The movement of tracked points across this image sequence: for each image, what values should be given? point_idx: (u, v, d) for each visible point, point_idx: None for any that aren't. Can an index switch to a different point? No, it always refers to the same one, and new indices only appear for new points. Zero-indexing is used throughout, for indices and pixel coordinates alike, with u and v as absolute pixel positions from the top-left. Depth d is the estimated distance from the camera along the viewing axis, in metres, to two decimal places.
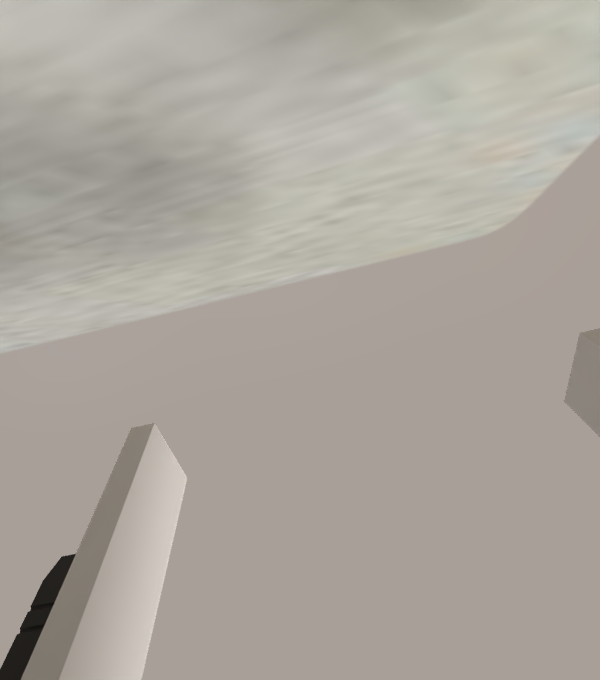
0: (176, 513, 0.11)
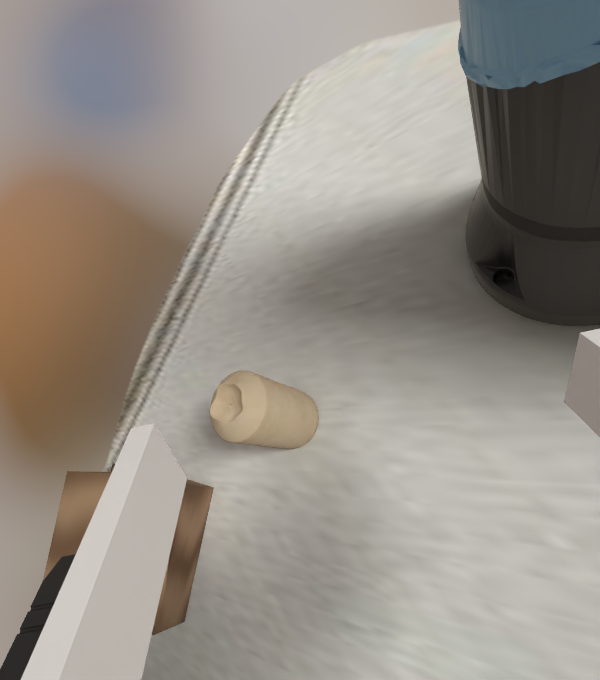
0: (176, 513, 0.11)
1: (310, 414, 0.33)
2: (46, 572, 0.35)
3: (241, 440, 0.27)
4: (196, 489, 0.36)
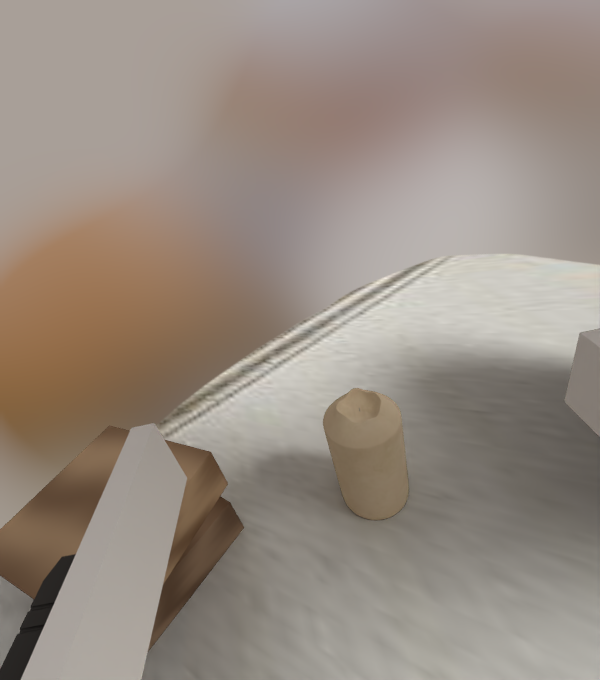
0: (176, 513, 0.11)
1: (407, 484, 0.29)
2: (17, 516, 0.27)
3: (358, 448, 0.24)
4: (234, 512, 0.29)
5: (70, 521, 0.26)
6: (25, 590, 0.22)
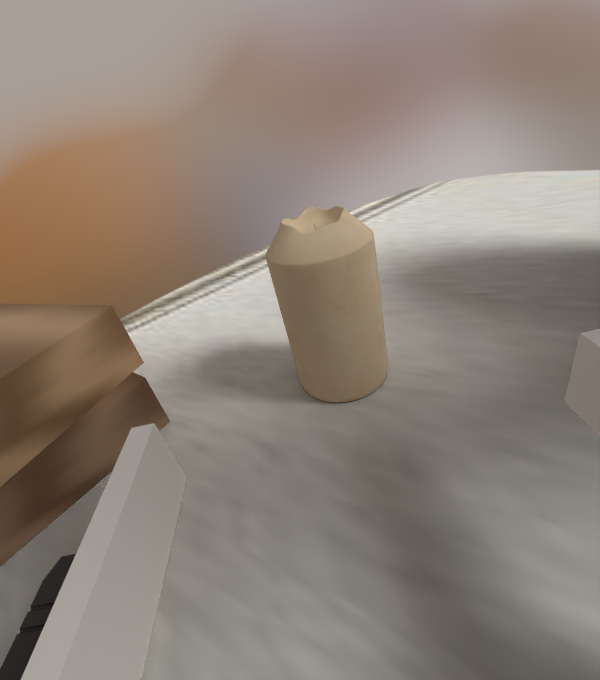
0: (176, 513, 0.11)
1: (384, 354, 0.21)
2: None
3: (308, 263, 0.16)
4: (152, 394, 0.22)
5: None
6: None
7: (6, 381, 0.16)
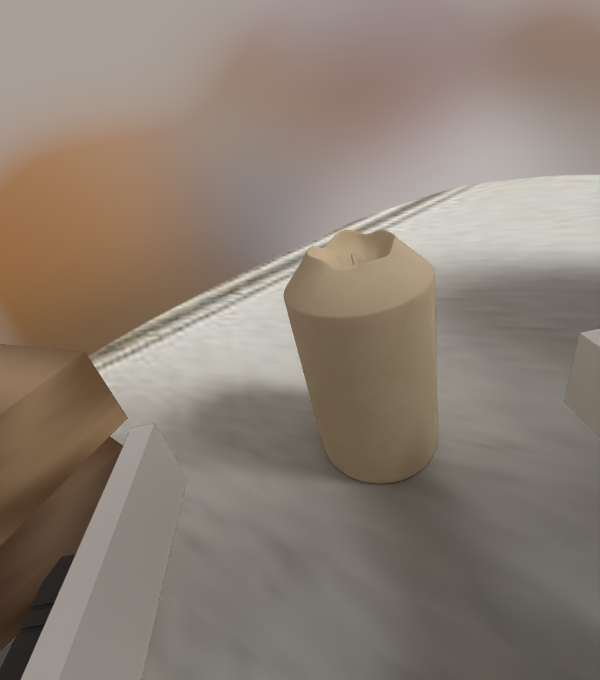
0: (176, 513, 0.11)
1: (436, 421, 0.16)
2: None
3: (347, 316, 0.12)
4: None
5: None
6: None
7: None
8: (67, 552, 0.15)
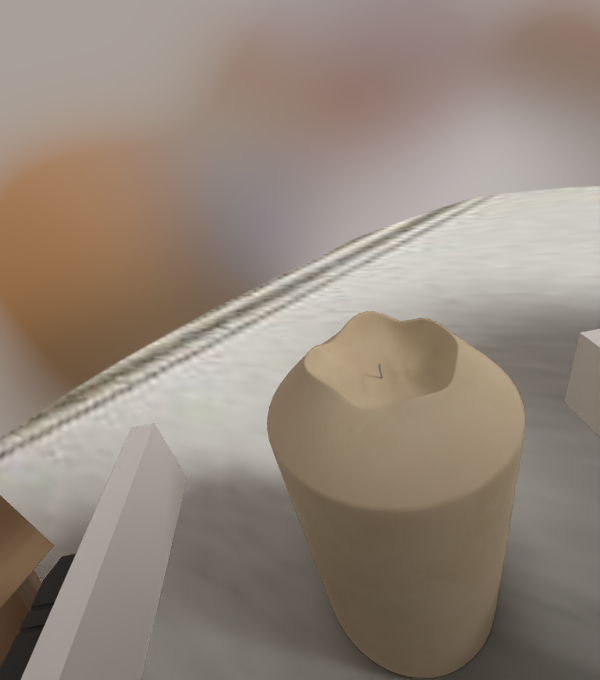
0: (176, 513, 0.11)
1: None
2: None
3: (380, 508, 0.06)
4: None
5: None
6: None
7: None
8: None
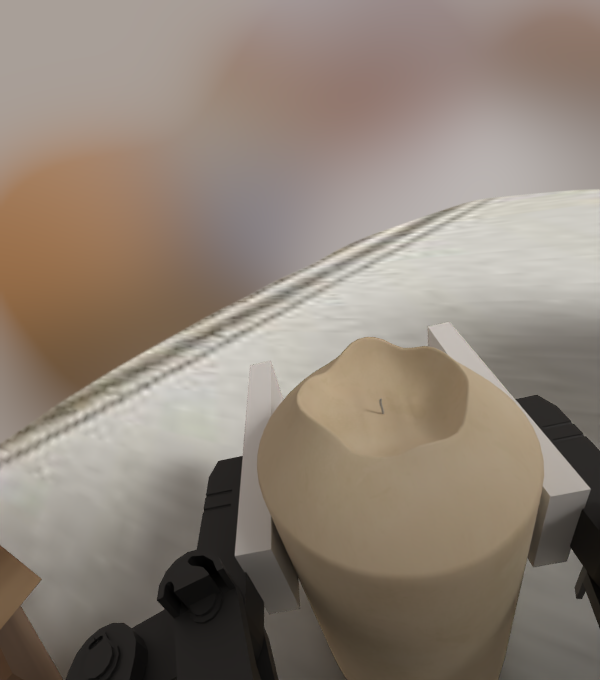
0: None
1: None
2: None
3: (382, 574, 0.05)
4: None
5: None
6: None
7: None
8: None
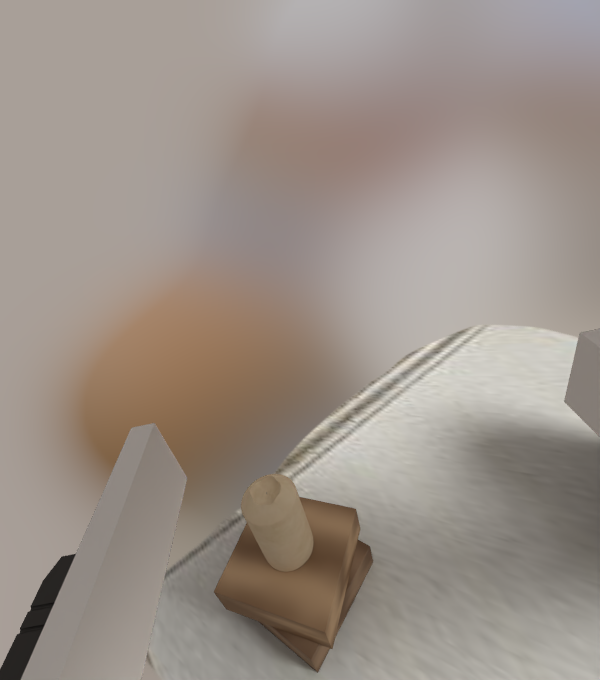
0: (176, 513, 0.11)
1: (305, 551, 0.37)
2: (230, 562, 0.40)
3: (253, 523, 0.34)
4: (370, 552, 0.42)
5: None
6: (271, 611, 0.35)
7: (342, 566, 0.37)
8: (355, 588, 0.41)
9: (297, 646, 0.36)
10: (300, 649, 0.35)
